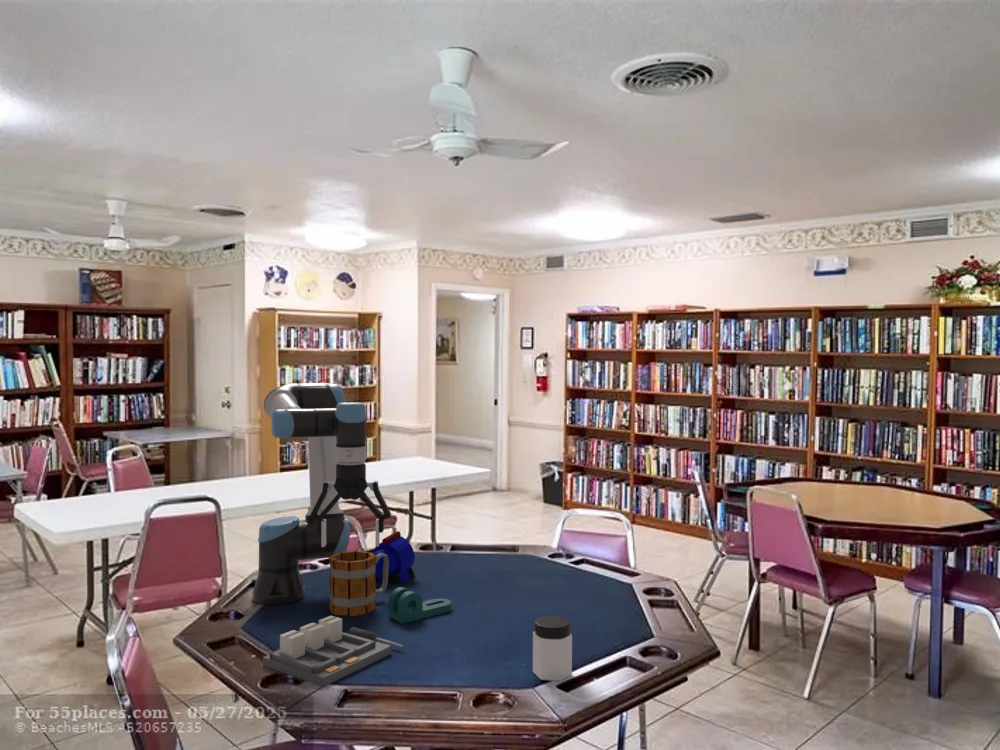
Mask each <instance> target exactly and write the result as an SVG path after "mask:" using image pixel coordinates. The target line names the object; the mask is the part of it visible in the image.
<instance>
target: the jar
mask: <svg viewBox="0 0 1000 750" xmlns="http://www.w3.org/2000/svg"><path fill="white" fill-rule="evenodd" d="M533 627H534V631H533V632H532V673H534V675H535V676H536V677H537V678H538V679H539V680H540V681H552V682H561V681H564V680H565V679H567V678H569V677H570V676H572V673H573V662H572V661H573V634H572V633H571V621H570V620H569V619H567V618H565V617H562V616H557V615H545V616H540V617H538V618H536V619H535V620H534V626H533Z"/></svg>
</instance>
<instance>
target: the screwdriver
mask: <svg viewBox="0 0 1000 750" xmlns="http://www.w3.org/2000/svg"><path fill="white" fill-rule="evenodd" d="M348 634H351V635H355V636H359V637H362V638H366V639H369V640H373V641H376V642H381V643H382V642H383V643H384V644H388V645H391V646H392V645H393V646H395V647H401V648H403V647H404V644H402V643H398V642H394V641H392V640H387V639H384V638H380V637H379V634H378V633H377V632H372V631H369V630H366V629H362V628H359V627H354V626H352V627H350V629H349V630H348Z"/></svg>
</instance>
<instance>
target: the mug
mask: <svg viewBox="0 0 1000 750" xmlns="http://www.w3.org/2000/svg"><path fill="white" fill-rule="evenodd" d="M381 557H383V560H384V565H383V579H382V582H381V583H382V584H381V586H380V588H379V589H376V588H377V587H376V586H377V577H376V575H375V565H376V563H377V562H378V561H379V559H380V558H381ZM328 559H329V560H328V561H329V580H328V581H329V582H328V585H329V604H328V610H329V609H330V610H329V611H330V612H331V614H332V615H337V616H343V617H354V616H363V615H368V614H369V613H370V612H371V613H372V612H373V611H374V610H376V609H377V604H376V603H377V602H376V594H382V593H384V592H385V591H386V589H387V587H388V583H389V579H388V578H389V577H388V568H389V560H388V556H387V555H386V554H383V553H379V554H377V555H376V556H375V555H374V554H373V552H372V551H367V550H366V551H363V550H349V551H348V550H347V551H346V552H338V553H336V554H334V555H332V556H329V558H328Z"/></svg>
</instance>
